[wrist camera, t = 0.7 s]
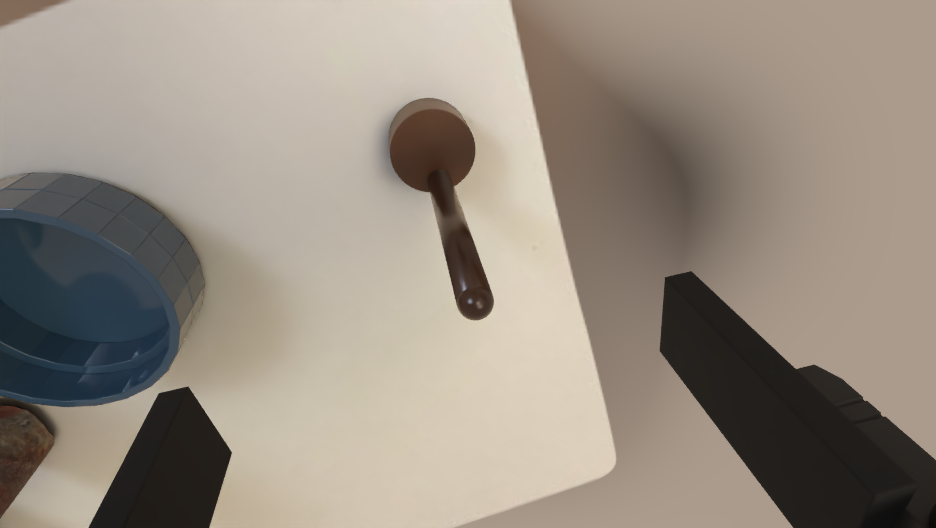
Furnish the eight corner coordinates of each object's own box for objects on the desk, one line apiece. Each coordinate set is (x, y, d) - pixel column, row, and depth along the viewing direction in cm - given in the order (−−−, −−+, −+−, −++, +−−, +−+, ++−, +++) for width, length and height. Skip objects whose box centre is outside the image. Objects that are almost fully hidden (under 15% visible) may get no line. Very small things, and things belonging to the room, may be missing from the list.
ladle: (379, 107, 32) (382, 228, 17) (460, 90, 33) (532, 194, 18) (399, 184, 35) (417, 342, 20) (474, 167, 36) (544, 312, 21)
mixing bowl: (-101, 198, 31) (-195, 244, 25) (140, 146, 31) (94, 181, 26) (51, 368, 39) (3, 428, 34) (239, 324, 39) (219, 376, 34)
